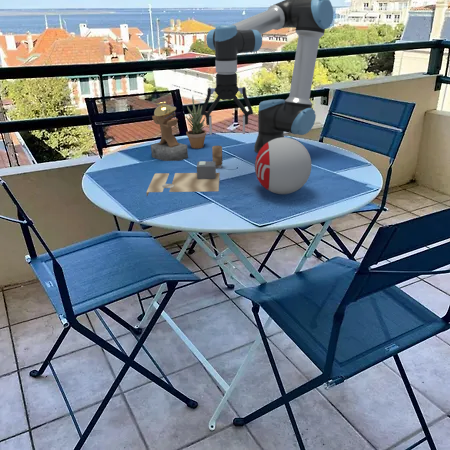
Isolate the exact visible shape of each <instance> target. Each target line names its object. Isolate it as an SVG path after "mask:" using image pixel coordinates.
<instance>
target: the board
mask: <svg viewBox="0 0 450 450" xmlns="http://www.w3.org/2000/svg"><path fill="white" fill-rule="evenodd" d="M220 173H221V172H216V178H215V179H197V172H175V173H174V176H173V179H172V182H171V183H167V181H168V178H169V175H170V173H169V172H168V173H167V172H165V173H163V172H159V173H154V175H153V177H152V179H151V181H150V183H149V185H148V188H147V190H146V193H145V194H146V197H148V196H149V194H150V193H163V192H164V189H169V192H168V193H184V192H185V193H190V192H191V193H193V192H194V193H195V192H197V193H198V192H199V193H200V192H205V193H206V192H208V193H209V192H219V191H220V190H219V188H220Z"/></svg>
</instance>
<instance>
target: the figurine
mask: <svg viewBox="0 0 450 450" xmlns="http://www.w3.org/2000/svg"><path fill="white" fill-rule="evenodd" d="M155 105H158V106H157V107H156V108H155V109H154V112H153V115H152V116H151V118H152V120H153V122H154V124H155V125H159V128H160V132H161V133H160V134H161V137H160V141H158V142H155V143H153V144H152V143H151V144H150V151H151V158H153V159H157V160H160V161H164V162H179V161H182V160H185V159H188V158H189V156H188V154H189V152H188V144H184V143H181V142H178V140H177V138H176V136H175V135H174V134H173V129H172V127H175V126H177V123H178V121H179V119H178V118H175V117H176V110H177V107H176V106H174V105H170V104H167V101H162V102H156V103H155Z"/></svg>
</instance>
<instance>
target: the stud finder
mask: <svg viewBox="0 0 450 450" xmlns="http://www.w3.org/2000/svg"><path fill="white" fill-rule="evenodd" d="M196 173H197V179H215V178H216V173H217V168H216V161H213V160H211V161H203V160H202V161H201V160H200V161H197V163H196Z"/></svg>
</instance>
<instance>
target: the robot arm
mask: <svg viewBox="0 0 450 450" xmlns="http://www.w3.org/2000/svg"><path fill="white" fill-rule="evenodd" d="M333 21H334V7H333V5H332V2H331V0H281V1H280V2H277V3H275V4H273V5H270V6H269V7H268V9H267V10H265V11H263V12H259V13H257V14H255V15H252V16H249V17H247V18H245V19H243V20H239V21H237V22H235V23H232V24H223V25H222V24H220V25H219V24H218V25H216V26H215V27H214V29H210V30H209V31H208V33H206V40H205V41H206V45H207V47H208V48H209V50H212V51H214V52H215V53H214V54H215V60H214V61H215V72H216V74H215V87H210V86H209V87H208V88H207V95H206V98H205V100H204V104H203V105H202V111H201V115H203V116H204V117H205V116H206V118H205V120H206V121H205V122H206V123H205V124H206V125H207V126H208V127H209V135H210V136H211V135H212V134H213V127H212V126H213V123H212V115H211V113H213V111H214V109H215V108H216V106H217V105H218V103H219V102H220V101H221V100H222V101H226V100H228V101H232V100H233V101H234V102H235V104H236V105H237V107H238V108H239V109H240V111H241V112H242V113H243V115H242V134H243V135H245V134H246V126H247V125H248V124H249V116H250V115H253V114H254V110H253V108H252V106H251V103H250V101H249V98H248V95H247V89H246V86H243V87H238V74H237V71H238V54H247V53H255V52H258V51H259V50H260V49H261V47H262V45H263V36H262V35H263V34H266V33H268V32H270V31H272V30H275V31H279V30H282V29H285V28H289V29H293V28H294V29H295V33H296V34H297V37H298V39H297V45H296V50H295V57H294V63H293V71H292V77H291V82H290V90H289V96H288V97H287V98H286V99H283V98H282V99H281V98H278V99H275V98H274V99H268V100H263V101H260V103H259V105H258V113H257V114H258V115H257V117H258V119H257V120H258V122H257V124H258V126H257V127H258V130H257V131H258V133H257V136H256V141H255V143H254V147H253V148H254V149H253V150H254V152H255V153H257V154H258V152H259V151H260V149H261V148H262V147H263V146H264V145H265V144H266V143H267V142H269V141H271V140H273V139H276V138H282V137H285V135H284V134H285V133H289V134H292V135H298V136H304V135H306V134H308V133H309V132H310V131H311V130H312V129H313V127H314V124H315V122H316V118H317V117H316V116H317V115H316V111H315V110H314V108H312V107H313V103H312V102H311V99H310V97H311V92H312V85H313V79H314V73H315V67H316V61H317V58H318V57H317V55H318V50H319V44H320V39H321V38H322V37H323V36H324V35H325V31H326V30H327V29H329V28H330V27H331V25H332V24H333ZM214 93H215V94H216V95H217V96H216V98H215V100H214V101H213V103H212V104H211V106H210V107H209V108H208V104H209V102H210V99H211V95H213V94H214ZM238 93H240V94H241V95H242V97H243V100H244V102H245V104H246V107H247V109H248V110H247V109H246V108H245V106H244V105H243V103H242V102H241V101H240V99H239V98H238V96H237V94H238ZM207 108H208V110H207ZM206 110H207V111H206Z"/></svg>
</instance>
